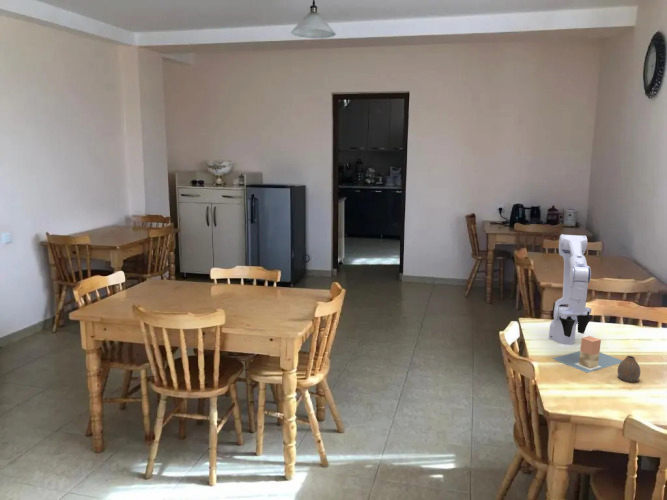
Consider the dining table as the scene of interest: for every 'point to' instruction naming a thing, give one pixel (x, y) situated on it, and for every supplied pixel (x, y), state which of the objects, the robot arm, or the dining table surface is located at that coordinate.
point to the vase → (629, 369)
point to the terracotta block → (590, 345)
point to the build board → (573, 361)
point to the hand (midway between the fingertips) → (574, 334)
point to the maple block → (588, 360)
